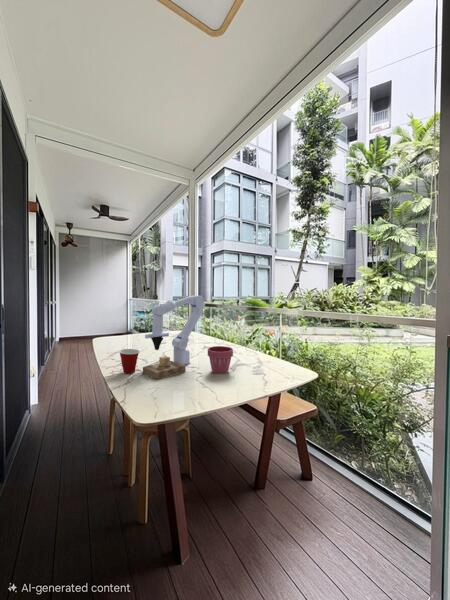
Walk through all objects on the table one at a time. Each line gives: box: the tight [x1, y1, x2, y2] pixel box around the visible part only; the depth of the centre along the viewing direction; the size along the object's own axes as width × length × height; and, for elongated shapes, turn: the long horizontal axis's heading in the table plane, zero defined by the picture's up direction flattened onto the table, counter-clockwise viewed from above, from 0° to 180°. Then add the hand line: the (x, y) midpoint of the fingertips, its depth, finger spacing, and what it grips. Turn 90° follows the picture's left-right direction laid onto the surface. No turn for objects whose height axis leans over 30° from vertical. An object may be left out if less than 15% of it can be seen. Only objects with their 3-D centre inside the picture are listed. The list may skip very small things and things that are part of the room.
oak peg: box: [158, 355, 171, 368], centre depth 143 cm, size 4×4×8 cm
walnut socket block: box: [142, 360, 187, 380], centre depth 144 cm, size 18×14×4 cm
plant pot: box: [207, 345, 234, 375], centre depth 146 cm, size 14×14×13 cm
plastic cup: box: [118, 348, 141, 375], centre depth 144 cm, size 11×11×12 cm
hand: (156, 349), depth 153 cm, fingers closed
